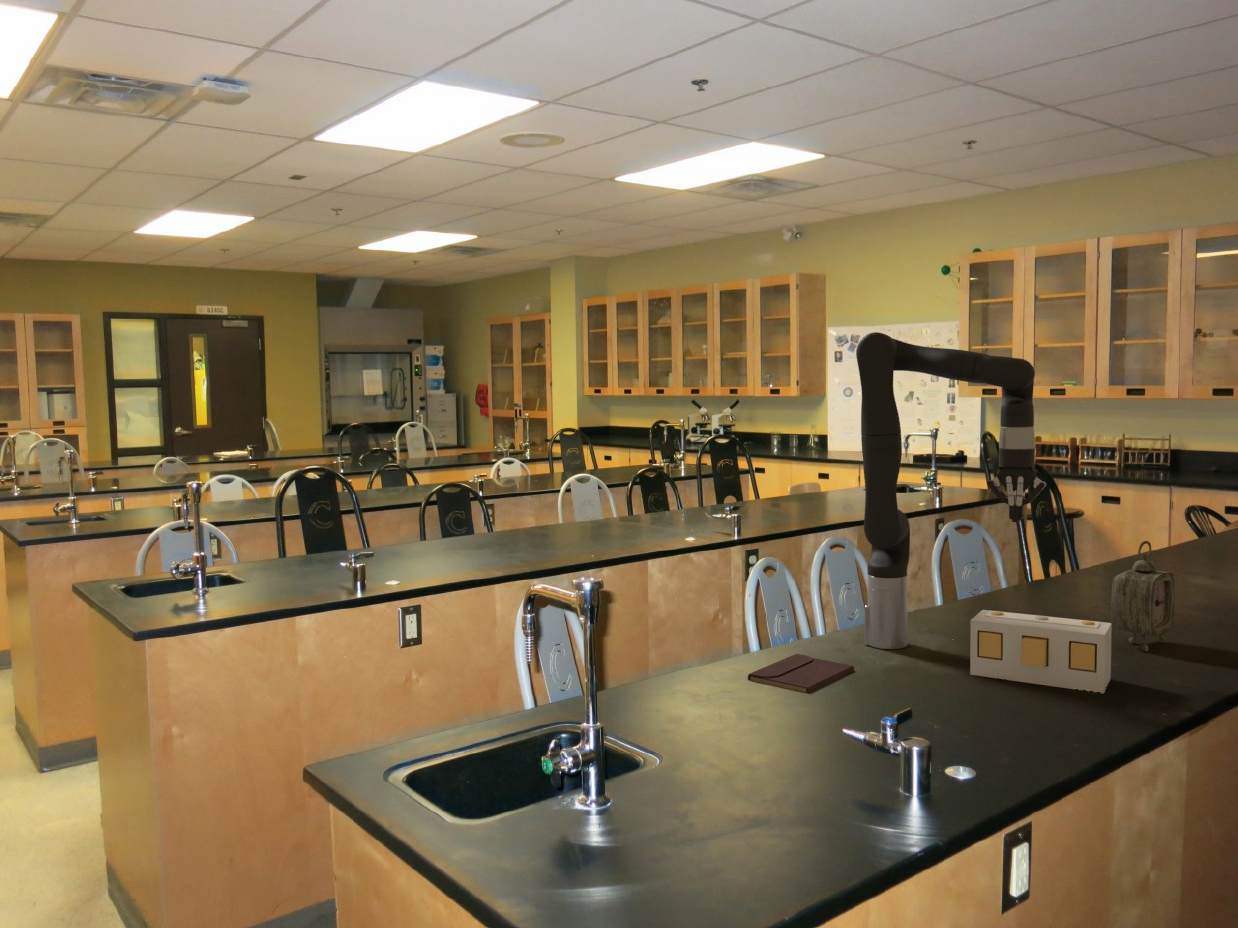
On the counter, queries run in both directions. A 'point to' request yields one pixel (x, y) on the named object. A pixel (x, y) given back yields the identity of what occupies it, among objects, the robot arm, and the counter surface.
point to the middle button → (1034, 651)
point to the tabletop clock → (1143, 600)
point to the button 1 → (991, 644)
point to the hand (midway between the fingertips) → (1016, 521)
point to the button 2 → (1083, 655)
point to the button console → (1058, 650)
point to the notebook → (800, 673)
